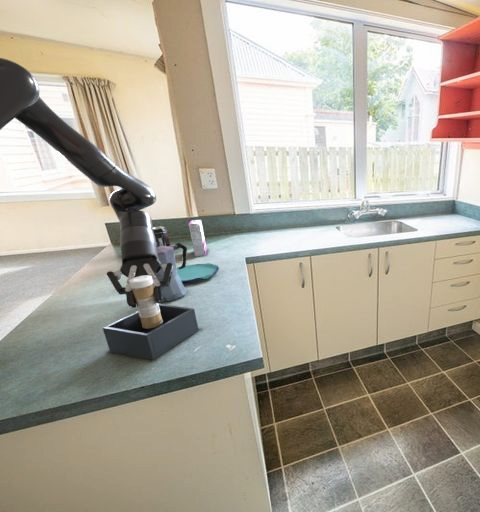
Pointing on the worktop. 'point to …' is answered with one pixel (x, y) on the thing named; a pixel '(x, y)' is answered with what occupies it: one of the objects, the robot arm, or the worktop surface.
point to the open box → (151, 332)
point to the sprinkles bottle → (146, 301)
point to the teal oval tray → (197, 272)
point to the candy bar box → (197, 237)
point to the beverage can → (161, 236)
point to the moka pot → (176, 285)
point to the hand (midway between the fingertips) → (146, 303)
